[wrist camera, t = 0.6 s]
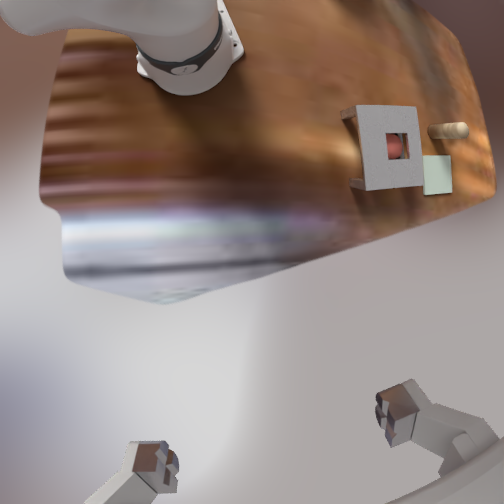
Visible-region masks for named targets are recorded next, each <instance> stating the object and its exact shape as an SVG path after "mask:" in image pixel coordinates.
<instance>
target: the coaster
mask: <svg viewBox="0 0 504 504" xmlns="http://www.w3.org/2000/svg"><path fill="white" fill-rule="evenodd" d="M422 162H423V176H424V185H423V194H424V195H430V194H441V193H452V175H451V159H450V156H449V155H439V156H422Z"/></svg>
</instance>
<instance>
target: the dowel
mask: <svg viewBox="0 0 504 504" xmlns="http://www.w3.org/2000/svg"><path fill="white" fill-rule="evenodd" d="M428 135H429V136H430V138H432V139H454V138H467V137H468V135H469V129H468V126H467V125H466V124H465V123H464V122H459V123H446V124H436V125H430V126H429V127H428Z"/></svg>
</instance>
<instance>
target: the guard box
mask: <svg viewBox="0 0 504 504" xmlns="http://www.w3.org/2000/svg"><path fill="white" fill-rule="evenodd" d="M340 112H341V119H351V118H354V117H356V121H357V128H358V135H359V143H360V151H361V160H362V170H363V179H360V178H350V179H349V185H350V187H353V188H357V189H361V190H365V191H369V190H378V189H388V188H399V187H410V186H422V185H424V176H423V162H422V151H421V141H420V132H419V124H418V117H417V111H416V107H410V106H389V105H355V106H352V107H350V108H347V109H345V110H342V111H340ZM402 133H405V136H406V144H407V154H408V159H405V158H404V148H403V150H402V153H401V155H400V156H399V157H398V158H396V159H389V160H388V150H387V142H386V134H394V135H396V136H398V137H399V138H400V140H401V142H402V145H403V139H402Z"/></svg>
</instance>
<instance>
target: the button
mask: <svg viewBox="0 0 504 504" xmlns="http://www.w3.org/2000/svg"><path fill="white" fill-rule="evenodd" d="M386 142H387V150H388V159H396V158H398V157H399V156H400V155H401V153H402V150H403V145H402V142H401V140H400V138H399V137H398V136H396V135H394V134H386Z"/></svg>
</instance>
